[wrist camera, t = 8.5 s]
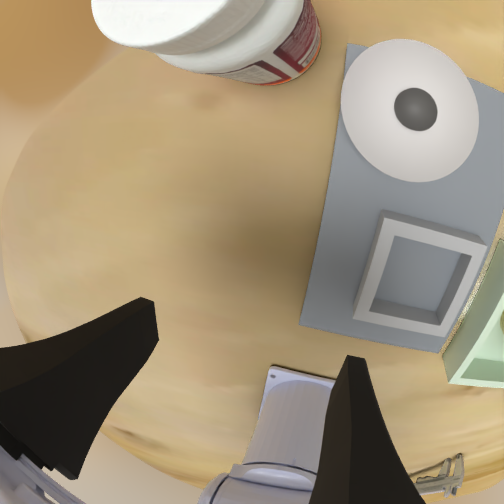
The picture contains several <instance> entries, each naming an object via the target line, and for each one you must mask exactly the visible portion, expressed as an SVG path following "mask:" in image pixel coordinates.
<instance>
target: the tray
mask: <svg viewBox="0 0 504 504" xmlns="http://www.w3.org/2000/svg"><path fill="white" fill-rule="evenodd" d="M503 310H504V240H501V239H500V240H499V243H498V245H497V248H496V251H495V253H494V256H493V258H492V261H491V263H490V265H489V268H488V270H487V272H486V275H485V277H484V279H483V281H482V284H481V286H480V288H479V290H478V292H477V294H476V296H475V298H474V300H473V302H472V304H471V306H470V308H469V310H468V312H467V314H466V316H465V318H464V320H463V322H462V323H461V325H460V327H459V329H458V331H457V332H456V334H455V336H454V338H453V339H452V341H451V343H450V344H449V346H448V348H447V349H446V351H445V353H444V354H443V360H444V365H445V370H446V374H447V379H448V383H450V384H459V385H469V386H480V387H493V388H504V334H503V332H502V330H501V327H500V318H501V315H502V312H503Z"/></svg>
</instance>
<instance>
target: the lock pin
mask: <svg viewBox="0 0 504 504" xmlns="http://www.w3.org/2000/svg"><path fill="white" fill-rule="evenodd" d="M500 327H501V330H502V332H503V334H504V310H503V312H502V315H501V318H500Z"/></svg>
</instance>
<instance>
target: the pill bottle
mask: <svg viewBox="0 0 504 504" xmlns="http://www.w3.org/2000/svg"><path fill="white" fill-rule="evenodd" d="M91 3H92V11H93V16H94V19H95V21H96V24H97V26H98V27H99V29H100V30H101V32H102V33H103V34H104V35H105V36H106V37H108V38H109V39H110V40H112V41H114V42H116V43H118V44H121V45H124V46H127V47H132V48H137V49H142V50H146V51H150V52H153V53H155V54H156V55H157V56H158V57H160V58H161V59H162V60H164V61H165V62H167V63H169V64H171V65H173V66H175V67H178V68H181V69H184V70H187V71H191V72H195V73H200V74H208V75H213V76H219V77H224V78H228V79H233V80H237V81H242V82H246V83H250V84H256V85H277V84H282V83H285V82H288V81H290V80H293V79H295V78H296V77H298V76H300V75H301V74H302V73H304V72H305V71H306V70H307V69H308V68H309V67H310V66H311V65H312V63H313V62H314V61H315V59H316V57H317V55H318V52H319V49H320V45H321V30H320V26H319V22H318V19H317V16H316V14H315V11H314V8H313V6H312V4H311V1H310V0H92V1H91Z"/></svg>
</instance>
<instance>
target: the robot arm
mask: <svg viewBox="0 0 504 504" xmlns="http://www.w3.org/2000/svg"><path fill="white" fill-rule="evenodd" d="M158 341H159V337H158V330H157V322H156V315H155V307H154V301H151V300H148V299H145V298H142V297H140V298H138V299H135V300H133V301H131V302H129V303H127V304H125V305H123V306H121V307H119V308H117V309H115V310H113V311H111V312H109V313H107V314H105V315H103V316H101V317H98V318H96V319H94V320H92V321H90V322H88V323H85V324H83V325H81V326H79V327H76V328H74V329H72V330H69V331H67V332H64V333H61V334H59V335H56V336H53V337H50V338H47V339H43V340H39V341H35V342H31V343H27V344H23V345H18V346H12V347H5V348H0V504H55V503H53V502H52V501H50V500H49V499H47V498H46V497H45V496H44V491H45V492H46V493H47V494H49V495H50V496H51V497H52V498H54V499H55V500H56V501H57V502H59V503H60V504H86V503H84V502H83V501H81V500H80V499H78V498H77V497H75V496H74V495H73V494H71V493H70V492H68V491H67V490H66V489H64V488H63V487H62V486H61V485H59V484H58V483H57V482H55V481H54V480H53V479H52V478H50V477H49V476H48V475H47V474H46V473H44V472H43V471H42V470H41V469H42V468H43V466H45V467H46V468H47V469H49V470H50V471H52V470H53V469H54V468H55V469H56V470H57V471H59V472H60V473H61V474H63V475H64V476H65V477H67V478H68V479H70V480H75V479H78V477H79V474H80V471H81V468H82V466H83V463H84V461H85V458H86V456H87V454H88V451H89V449H90V447H91V445H92V443H93V441H94V438H95V437H96V435H97V433H98V431H99V429H100V427H101V425H102V423H103V422H104V420H105V418H106V416H107V415H108V413H109V411H110V410H111V408H112V406H113V405H114V403H115V402H116V401H117V399H118V398H119V397H120V395H121V394H122V393H123V391H124V390H125V389H126V388H127V386H128V385H129V384H130V382H131V381H132V380H133V379H134V377H135V376H136V375H137V373H138V372H139V371H140V369H141V368H142V367H143V366H144V364H145V363H146V362H147V360H148V358H149V357H150V355H151V353H152V352H153V350H154V348H155V346H156V345H157V343H158ZM197 504H426V503H425V501H424V500H423V499H422V497H421V495H420V494H419V492H418V490H417V489H416V487H415V485H414V484H413V482H412V480H411V479H410V477H409V476H408V474H407V472H406V470H405V468H404V466H403V464H402V462H401V460H400V458H399V456H398V454H397V452H396V450H395V447H394V445H393V443H392V440H391V438H390V435H389V433H388V430H387V428H386V425H385V423H384V420H383V417H382V414H381V411H380V408H379V405H378V402H377V399H376V396H375V393H374V389H373V386H372V383H371V379H370V375H369V372H368V368H367V364H366V361H365V359H364V358H360V357H355V356H350V355H347V357H346V359H345V361H344V364H343V366H342V368H341V370H340V373H339V375H338V377H337V379H336V380H331V379H326V378H322V377H317V376H313V375H309V374H304V373H300V372H296V371H292V370H288V369H284V368H280V367H276V366H271V367H270V368H269V371H268V376H267V380H266V385H265V389H264V394H263V399H262V403H261V407H260V412H259V416H258V422H257V425H256V428H255V430H254V433H253V436H252V438H251V441H250V443H249V446H248V449H247V451H246V454H245V456H244V459H243V461H242V464H241V465H238V464H234V465H233V467H232V469H231V472H230V473H221V474H219V475H218V476H217V477H215V478H213V479H212V480H211V481H210V482H209V483H208V484H207V485H206V487H205V488H204V490H203V492H202V493H201V495H200V498H199V501H198V503H197Z"/></svg>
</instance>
